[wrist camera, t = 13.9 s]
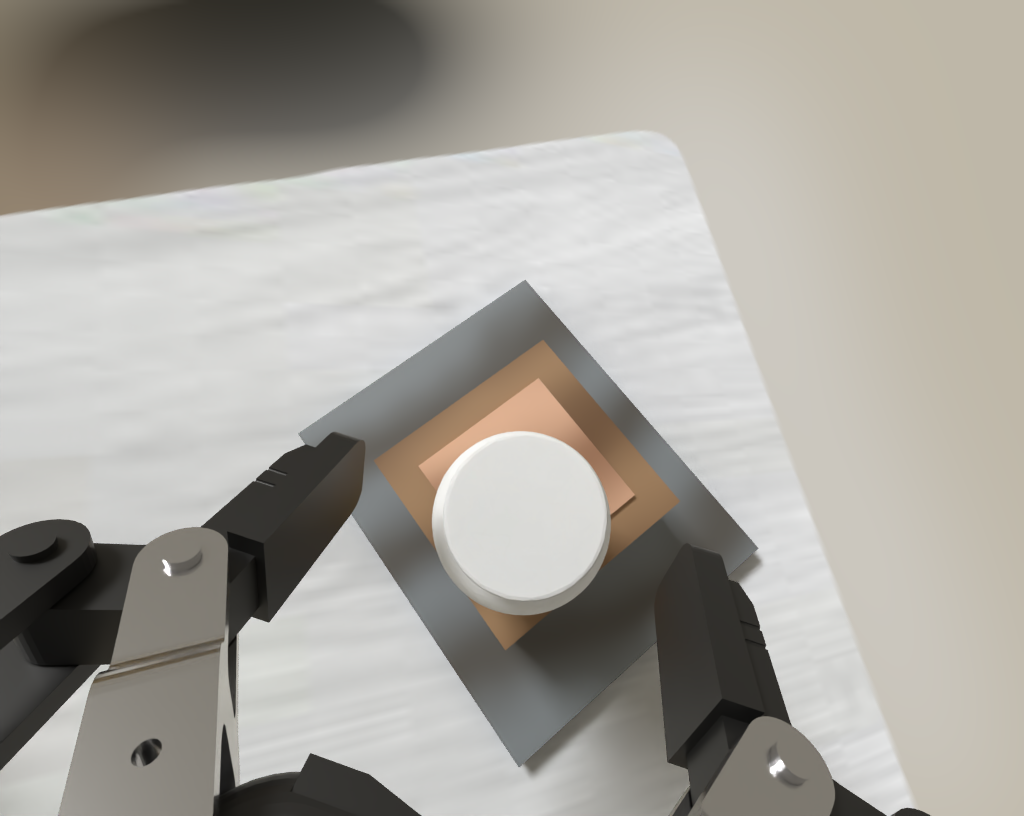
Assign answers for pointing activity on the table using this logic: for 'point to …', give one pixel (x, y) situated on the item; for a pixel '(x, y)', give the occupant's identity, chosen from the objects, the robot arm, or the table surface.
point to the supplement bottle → (521, 523)
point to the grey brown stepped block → (571, 419)
